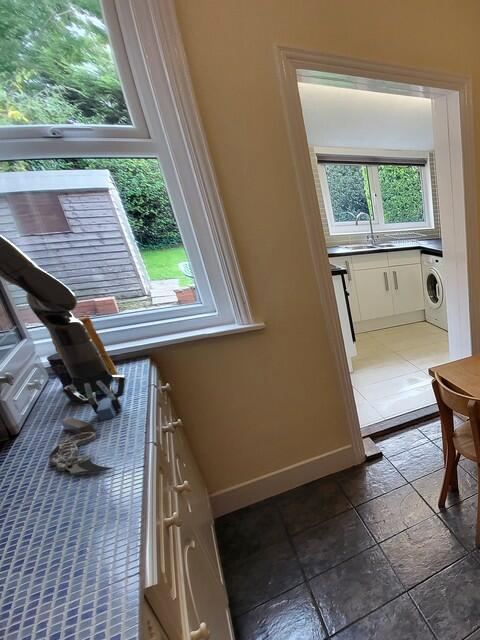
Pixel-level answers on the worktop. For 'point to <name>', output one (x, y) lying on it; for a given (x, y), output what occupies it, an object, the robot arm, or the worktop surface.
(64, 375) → the storage jar
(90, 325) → the coffee package
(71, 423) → the walnut bar
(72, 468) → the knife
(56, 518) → the worktop surface
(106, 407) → the blue bar
